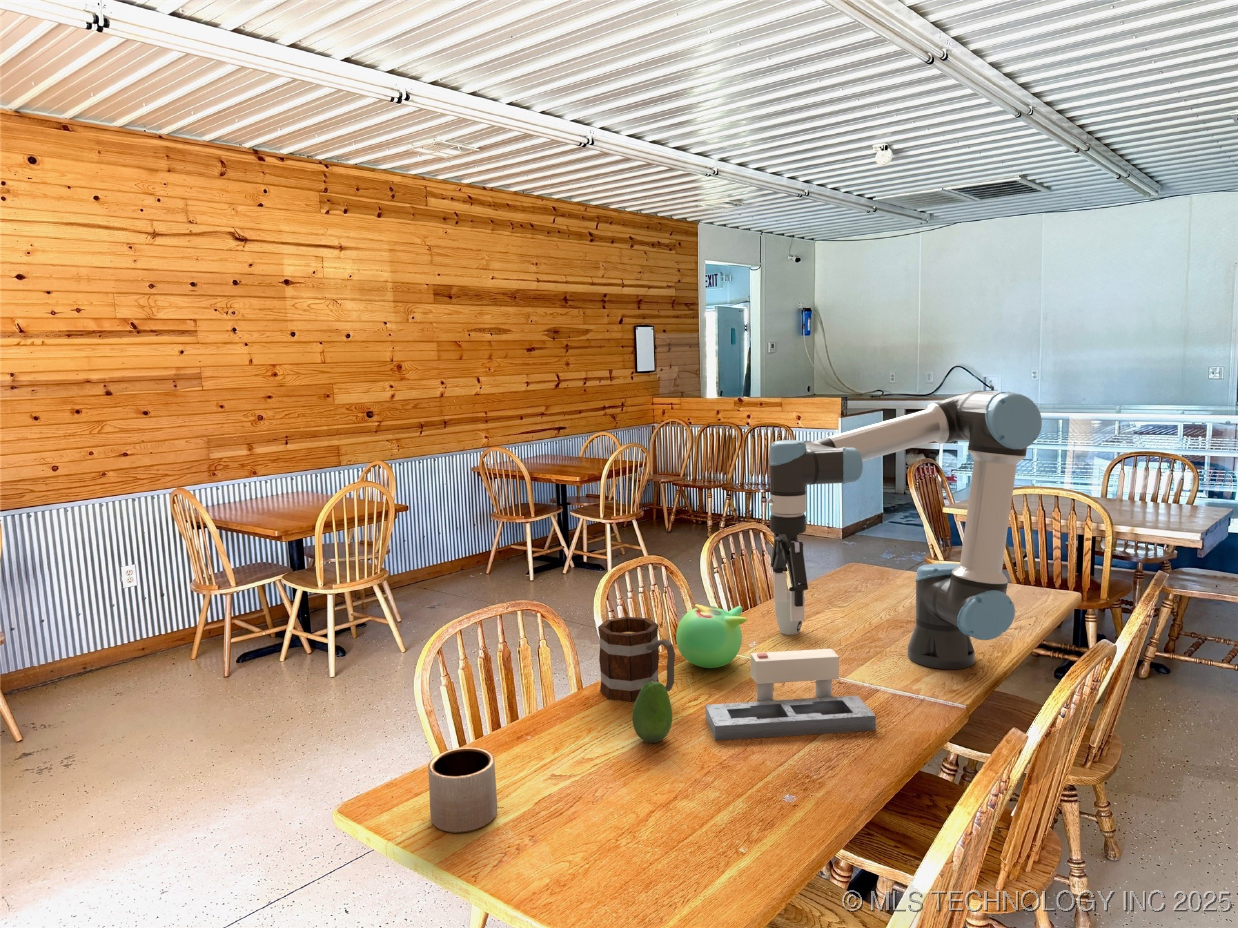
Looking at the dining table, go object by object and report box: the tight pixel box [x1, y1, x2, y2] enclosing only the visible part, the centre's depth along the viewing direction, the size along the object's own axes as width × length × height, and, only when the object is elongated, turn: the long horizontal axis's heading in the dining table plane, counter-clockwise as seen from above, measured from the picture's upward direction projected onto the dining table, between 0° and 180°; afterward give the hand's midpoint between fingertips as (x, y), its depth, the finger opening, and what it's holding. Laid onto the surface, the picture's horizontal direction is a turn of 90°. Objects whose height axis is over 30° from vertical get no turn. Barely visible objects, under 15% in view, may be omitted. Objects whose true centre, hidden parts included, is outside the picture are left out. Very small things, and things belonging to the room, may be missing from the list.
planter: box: [427, 746, 498, 834], centre depth 137 cm, size 11×11×10 cm
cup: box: [773, 591, 806, 636], centre depth 223 cm, size 8×8×10 cm
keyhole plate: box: [705, 694, 877, 742], centre depth 167 cm, size 32×10×3 cm, turn 95°
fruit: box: [631, 681, 673, 744], centre depth 162 cm, size 8×8×12 cm
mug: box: [597, 616, 676, 703], centre depth 184 cm, size 20×14×15 cm
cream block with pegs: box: [750, 648, 840, 702], centre depth 180 cm, size 18×5×10 cm, turn 95°
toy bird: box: [675, 604, 748, 669], centre depth 201 cm, size 18×17×15 cm
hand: (788, 610), depth 179 cm, fingers open, 13 cm apart
